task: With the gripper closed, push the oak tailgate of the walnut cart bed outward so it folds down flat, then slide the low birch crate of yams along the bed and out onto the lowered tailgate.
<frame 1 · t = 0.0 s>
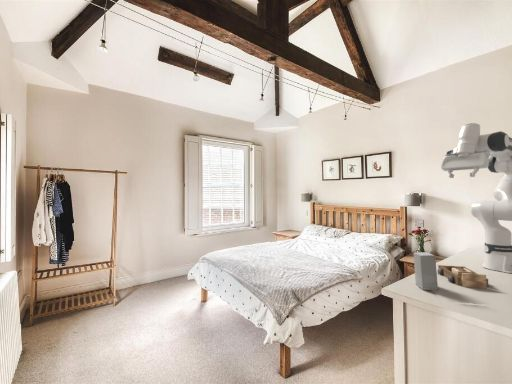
hand: (461, 177, 133), 52 cm above the table, tool tilted 20°, fingers open, 8 cm apart
cart bed: (461, 280, 129), on the table
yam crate: (461, 273, 129), in the cart bed, point 4 cm above the table
tailgate: (473, 280, 118), point 3 cm above the table, hinge at 0.0°
skincare box: (425, 287, 120), on the table
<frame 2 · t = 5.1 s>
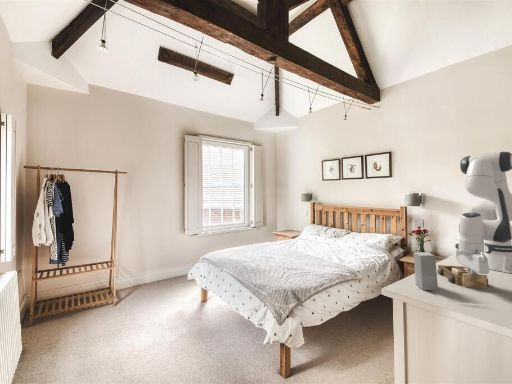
hand: (471, 278, 120), 4 cm above the table, tool pointing down, fingers closed
tailgate: (474, 281, 118), point 3 cm above the table, hinge at 8.8°, touching gripper
everything else where it was.
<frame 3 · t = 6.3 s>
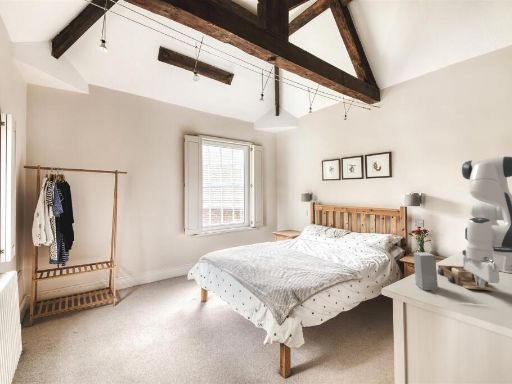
hand: (480, 286, 113), 3 cm above the table, tool pointing down, fingers closed
tailgate: (477, 287, 116), point 1 cm above the table, hinge at 75.5°, touching gripper
everything else where it was.
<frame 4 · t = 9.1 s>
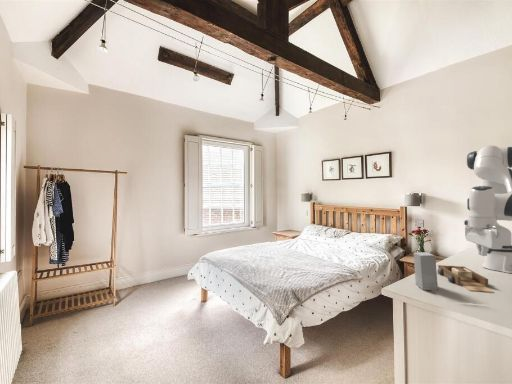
hand: (482, 255, 112), 17 cm above the table, tool pointing down, fingers closed
tailgate: (477, 289, 116), point 1 cm above the table, hinge at 90.2°
everything else where it was.
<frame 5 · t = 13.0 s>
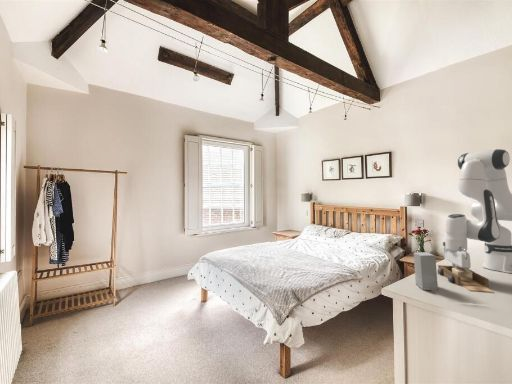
hand: (456, 272, 133), 3 cm above the table, tool pointing down, fingers closed
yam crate: (461, 273, 129), in the cart bed, point 4 cm above the table, touching gripper
everything else where it was.
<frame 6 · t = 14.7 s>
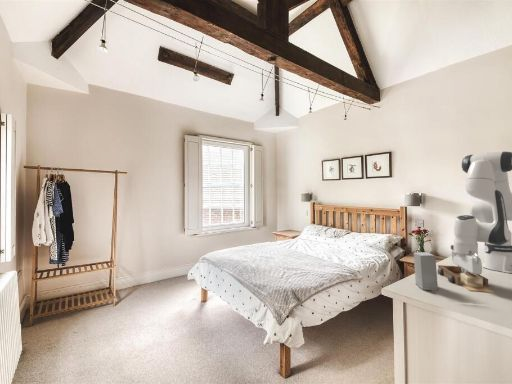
hand: (466, 278, 124), 3 cm above the table, tool pointing down, fingers closed
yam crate: (471, 279, 120), point 4 cm above the table, touching gripper
everything else where it was.
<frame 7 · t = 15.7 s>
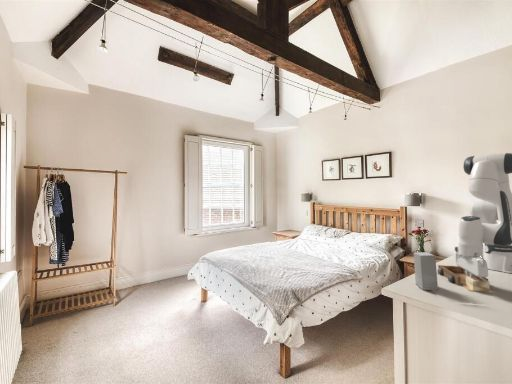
hand: (470, 281, 120), 3 cm above the table, tool pointing down, fingers closed
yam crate: (477, 283, 116), point 3 cm above the table, touching gripper
tailgate: (477, 289, 116), point 1 cm above the table, hinge at 91.4°
everything else where it was.
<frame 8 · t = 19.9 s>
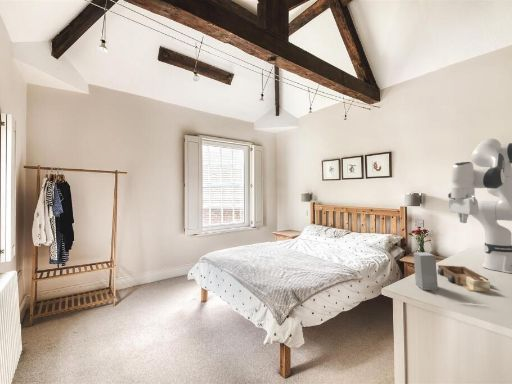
hand: (463, 222, 127), 29 cm above the table, tool pointing down, fingers closed
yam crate: (477, 283, 115), point 4 cm above the table, touching tailgate
tailgate: (477, 289, 116), point 1 cm above the table, hinge at 90.6°, touching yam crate
everything else where it was.
at the end: tailgate at +91° (first picture: +0°); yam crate tilted 1° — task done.
